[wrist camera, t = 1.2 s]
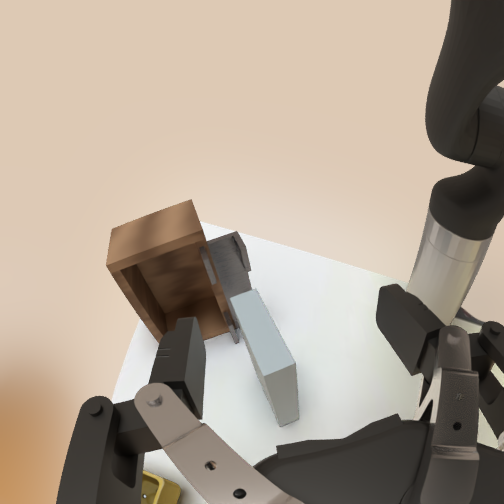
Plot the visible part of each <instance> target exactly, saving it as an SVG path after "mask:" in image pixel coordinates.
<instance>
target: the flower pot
mask: <svg viewBox="0 0 504 504" xmlns="http://www.w3.org/2000/svg"><path fill="white" fill-rule="evenodd" d="M157 490H158V491H157ZM180 492H181V489H180V487H179V485H177V484H176V483H174V482H172V481H169V480H167V479H164V478H162V477H160V476H157V475H154V474H152V473H149V472H147V471H145V470H143V477H142V493H141V504H177V501H178V498H179V495H180ZM144 494H145V495H146V498H143V495H144Z"/></svg>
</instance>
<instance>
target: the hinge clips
mask: <svg viewBox="0 0 504 504" xmlns="http://www.w3.org/2000/svg"><path fill="white" fill-rule="evenodd" d="M207 244H208V248H209V251H210V254H211V257H212V260H213V263H214V266H215V268H216V271H217V274H218V277H219V280H220V283H221V286H222V289H223V292H224V295H225V297H226V300H227V303H228V306H229V309H230V311H231V314H232V317H233V320H234V323H235V325H236V328H240V326H239V323H238V321H237V318H236V315H235V312H234V309H233V306H232V303H231V300H230V298H231V297H234V296H237V295H239V294H242V293H245V292H248V291H250V290H252V288H251V284H250V280H249V276H248V272H249V271H251V267H250V263H249V259H248V254H247V250H246V246H245V244H244V242H243V241H242V239H241V237H240V235H239V234H238V232H237V231H236V232H233V233H230V234H227V235H224V236H221V237H218V238H215V239H213V240H210V241H207ZM199 249H200V252H201V256H202V258H203V261H204V264H205V267H206V270H207V272H208V275H209V278H210V280H211V283H212V285H213V284H216V283H217V281H216V278H215V275H214V272H213V269H212V267H211V264H210V261H209V258H208V255H207V252H206V250H205V247H204V246H202V247H199ZM223 314H224V316H225V319H226V322H227V324H228V327H229V329H230V332H231V334H232V337H233V339H234V342H235V344H236V343H239V340H238V338H237V335H236V332H235V330H234V327H233V324H232V322H231V320H232V319H230V317H229V314H228V312H224V313H223ZM231 314H230V315H231Z"/></svg>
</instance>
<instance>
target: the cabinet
mask: <svg viewBox="0 0 504 504" xmlns="http://www.w3.org/2000/svg"><path fill="white" fill-rule="evenodd" d="M202 246H204V247H205V250H206V252H207V255H208V258H209V261H210V264H211V267H212V269H213V272H214V275H215V278H216V281H217V283H216V284H213V285H212V283H211V280H210V278H209V275H208V272H207V270H206V267H205V264H204V261H203V258H202V256H201V252H200V249H199V247H202ZM106 266H107V268H108V270H109V271H110V273H111V274H112V276H113V278H114V279H115V281H116V282H117V284H118V286H119V287H120V289H121V290H122V292H123V293H124V295H125V296H126V298H127V299H128V301H129V302H130V304H131V305H132V307H133V308H134V310H135V311H136V313H137V314H138V315H139V317H140V318H141V320H142V321H143V322H144V324H145V325H146V327H147V328H148V329H149V331H150V332H151V333H152V335H153V336H154V337H155V339H156V340H157V341H158V343H160V340H161V338H162V337H163V336H164V335H165V334H166V332H167V331H175V327H176V323H177V319H178V318H187V317H196V318H197V321H198V324H199V328H200V331H201V335H202V338H203V341H204V340H206V339H209V338H212V337H215V336H218V335H221V334H223V333H226V332H229V331H230V329H229V327H228V324H227V322H226V319H225V316H224V314H223V313H224V312H228V314H229V317H230V319H232V320H231V322H232V324H233V327H234V329H237V328H236V325H235V323H234V320H233V317H232V314H231V311H230V309H229V306H228V303H227V300H226V297H225V295H224V292H223V289H222V286H221V283H220V280H219V277H218V274H217V271H216V268H215V266H214V263H213V260H212V257H211V254H210V251H209V248H208V244H207V241H206V238H205V235H204V232H203V229H202V227H201V224H200V221H199V219H198V216H197V213H196V210H195V208H194V205H193V202H192V200H188V201H185V202H182V203H179V204H177V205H174V206H171V207H168V208H165V209H163V210H160V211H157V212H154V213H152V214H149V215H146V216H144V217H141V218H139V219H136V220H133V221H131V222H128V223H126V224H123V225H121V226H118V227H116V228H113V229H112V232H111V237H110V243H109V249H108V255H107V262H106ZM230 314H231V315H230Z"/></svg>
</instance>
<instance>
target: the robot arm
mask: <svg viewBox="0 0 504 504" xmlns="http://www.w3.org/2000/svg"><path fill="white" fill-rule="evenodd" d="M503 80H504V0H451V9H450V16H449V22H448V27H447V31H446V35H445V39H444V42H443V46H442V49H441V52H440V56H439V59H438V62H437V65H436V68H435V71H434V74H433V77H432V80H431V84H430V87H429V92H428V96H427V103H426V115H425V117H426V118H425V122H426V130H427V135H428V138H429V140H430V142H431V144H432V146H433V147H434V149H435V150H436V151H437V152H438V153H440V154H441V155H443V156H445V157H447V158H449V159H453V160H455V161H460V162H464V163H468V164H472V165H475V166H474V167H473V168H472V169H471V170H469V171H467V172H465V173H464V174H461V175H457V176H453V177H448V178H444V179H442V180H440V181H438V182H437V183H436V184H435V185H434V187H433V189H432V193H431V198H430V203H429V208H428V213H427V218H426V222H425V227H424V231H423V236H422V240H421V243H420V247H419V251H418V254H417V258H416V262H415V265H414V268H413V271H412V275H411V278H410V281H409V284H408V287H407V290H406V292H405V291H404V290H403V289H402V288H401V287H400V286H399V285H398V284H392V285H387V286H383V287H381V288H380V290H379V297H378V305H377V312H376V322H377V326H378V328H379V329H380V331H381V332H382V334H383V335H384V336H385V338H386V339H387V341H388V342H389V343H390V345H391V346H392V348H393V349H394V351H395V352H396V354H397V355H398V356H399V358H400V359H401V361H402V362H403V364H404V365H405V367H406V368H407V370H408V371H409V373H410V374H411V376H413V375H416V374H418V373H422V374H423V377H422V379H421V384H420V390H419V395H418V400H417V405H416V410H415V414H414V417H413V420H401V419H400V417H399V415H398V413H397V414H394V415H392V416H389V417H387V418H384V419H381V420H378V421H375V422H372V423H370V424H369V425H367V426H365V427H364V428H362V429H360V430H358V431H357V432H355V433H353V434H351V435H350V436H348V437H346V438H343V439H330V440H306V441H301V442H296V443H290V444H285V445H278V446H276V448H277V454H274V455H272V456H269V457H267V458H265V459H263V460H262V461H260V462H258V463H257V464H256V465H254V466H253V467H252V466H251V465H250V464H248V463H247V462H246V461H245V460H244V459H243V458H242V457H240V456H239V455H238V454H237V453H236V452H235V451H234V450H233V449H232V448H231V447H230V446H228V445H227V444H226V443H225V442H224V441H223V440H222V439H221V438H220V437H219V436H218V435H217V434H216V433H215V432H214V431H213V430H212V429H211V428H210V427H209V426H208V425H207V424H205V423H203V424H202V423H201V422H200V421H199V420H200V419H202V415H203V396H204V379H205V365H206V351H205V345H204V342H203V338H202V335H201V331H200V328H199V324H198V321H197V318H196V317H187V318H178V319H177V323H176V327H175V331H167V332H166V334H165V335H164V336H163V337H162V338H161V340H160V343H159V347H158V350H157V354H156V358H155V361H154V365H153V368H152V372H151V376H150V380H149V384H148V385H146V386H144V387H142V388H141V389H140V390H139V391H138V392H137V394H136V396H135V399H132V400H129V401H125V402H121V403H116V404H113V403H112V402H111V401H110V399H108V398H107V397H104V396H95V397H92V398H90V399H88V400H87V401H86V402H85V403H84V404H83V405H82V407H81V409H80V412H79V415H78V418H77V421H76V424H75V428H74V431H73V434H72V438H71V441H70V445H69V449H68V452H67V456H66V460H65V464H64V468H63V472H62V476H61V481H60V486H59V491H58V496H57V501H56V504H141V493H142V477H143V465H144V454H145V452H150V451H154V450H158V449H163V450H164V451H165V452H166V454H167V455H168V456H169V458H170V459H171V460H172V462H173V463H174V464H175V466H176V467H177V468H178V469H179V471H180V472H181V473H182V474H183V475H184V477H185V478H186V479H187V480H188V481H189V483H190V484H191V485H192V486H193V487H194V488H195V489H196V491H197V492H198V493H199V494H200V495H201V496H202V497H203V498H204V499H205V500H206V501H207V502H208V503H209V504H504V388H503V387H502V386H501V384H500V383H499V381H498V380H497V379H496V377H495V376H494V375H493V373H492V372H491V369H492V367H493V365H494V363H496V365H497V366H498V367H499V368H500V370H501V371H502V372H503V373H504V326H503V325H501V324H500V323H497V322H494V321H488V322H486V323H484V324H483V326H482V329H481V331H480V333H473V334H467V332H466V331H465V330H464V329H462V328H460V327H458V326H454V325H450V324H451V322H452V320H453V319H454V317H455V315H456V313H457V312H458V310H459V308H460V307H461V305H462V303H463V301H464V299H465V297H466V295H467V293H468V291H469V289H470V288H471V286H472V284H473V281H474V279H475V277H476V275H477V273H478V271H479V269H480V266H481V264H482V262H483V260H484V257H485V255H486V252H487V250H488V247H489V245H490V242H491V240H492V237H493V234H494V231H495V229H496V226H497V224H498V223H499V222H500V221H501V219H502V218H503V216H504V88H502V87H500V86H497V85H498V84H499V83H500V82H502V81H503ZM479 408H480V410H481V411H482V413H483V415H484V416H485V418H486V420H487V421H488V423H489V425H490V427H491V428H492V430H493V432H494V434H495V435H496V437H497V439H498V447H497V449H495V448H492V447H489V446H486V445H483V444H480V443H478V442H477V434H478V419H479Z"/></svg>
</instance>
